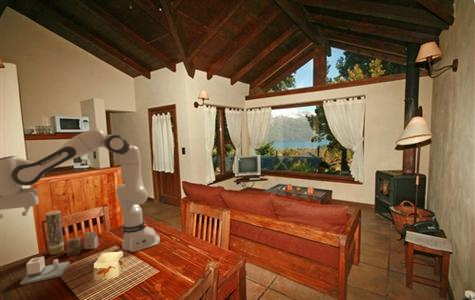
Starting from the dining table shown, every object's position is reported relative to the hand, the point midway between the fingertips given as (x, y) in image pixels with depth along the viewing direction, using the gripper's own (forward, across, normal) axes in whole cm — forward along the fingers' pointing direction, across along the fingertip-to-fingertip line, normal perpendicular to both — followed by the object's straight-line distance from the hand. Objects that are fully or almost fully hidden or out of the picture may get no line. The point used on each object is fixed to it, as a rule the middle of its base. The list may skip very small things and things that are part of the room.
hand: (12, 216), depth 104 cm
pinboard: (+31, -12, +3) cm, 34 cm away
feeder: (+31, -19, -15) cm, 39 cm away
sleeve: (+30, -8, +3) cm, 31 cm away
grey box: (+31, -27, -17) cm, 45 cm away
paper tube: (+31, -9, -19) cm, 38 cm away
